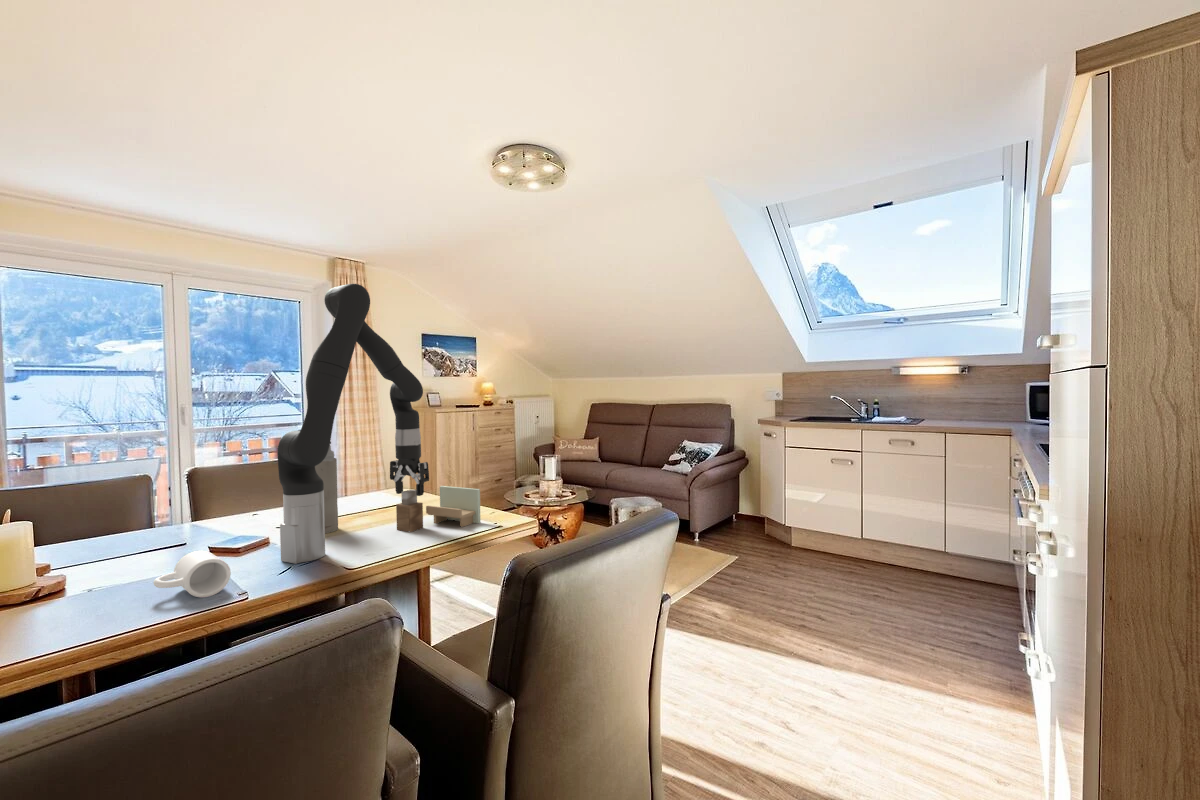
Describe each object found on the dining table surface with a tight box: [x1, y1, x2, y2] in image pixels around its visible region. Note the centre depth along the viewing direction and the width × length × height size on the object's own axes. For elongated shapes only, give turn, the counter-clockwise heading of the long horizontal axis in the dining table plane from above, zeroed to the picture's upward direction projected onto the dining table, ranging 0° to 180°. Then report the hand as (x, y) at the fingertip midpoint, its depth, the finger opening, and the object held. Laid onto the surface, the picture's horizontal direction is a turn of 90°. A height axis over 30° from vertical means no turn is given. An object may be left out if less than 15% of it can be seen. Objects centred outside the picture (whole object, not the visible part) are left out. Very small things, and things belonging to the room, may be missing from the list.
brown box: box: [395, 489, 424, 533], centre depth 161 cm, size 5×6×12 cm
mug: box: [153, 550, 232, 598], centre depth 111 cm, size 12×10×8 cm
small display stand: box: [425, 485, 481, 527], centre depth 167 cm, size 9×16×11 cm, turn 65°
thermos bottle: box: [315, 440, 339, 534], centre depth 161 cm, size 8×8×28 cm
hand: (409, 494), depth 161 cm, fingers open, 8 cm apart
